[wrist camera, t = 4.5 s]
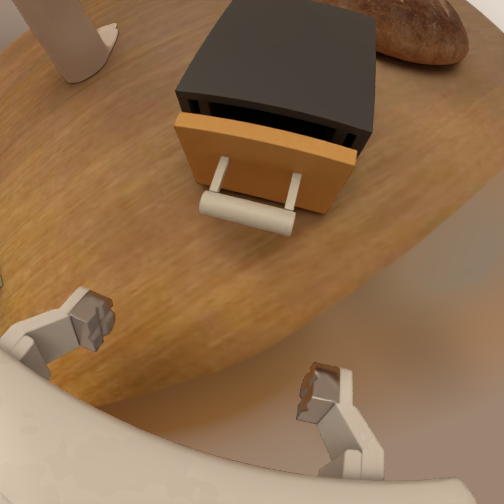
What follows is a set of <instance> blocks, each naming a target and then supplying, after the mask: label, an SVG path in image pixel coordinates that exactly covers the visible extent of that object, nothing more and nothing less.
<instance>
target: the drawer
mask: <svg viewBox="0 0 504 504" xmlns="http://www.w3.org/2000/svg"><path fill="white" fill-rule="evenodd" d="M198 103H199V107H200V111H201V115H200V114H193V113H186V112H180V113H179V115H178V117H177V119H176V122H175V124H174V128H175V130H176V133H177V135H178V138H179V140H180V143H181V145H182V147H183V150H184V152H185V155H186V157H187V160H188V162H189V165H190V167H191V169H192V172H193V174H194V177H195V179H196V181H197V183H200V184H205V185H209V186H210V189H209V191H205V192H204V193H203V195H202V197H201V200H200V204H199V213H200V214H201V215H206V216H210V217H214V218H218V219H222V220H226V221H230V222H234V223H238V224H242V225H246V226H250V227H254V228H258V229H261V230H265V231H269V232H273V233H277V234H281V235H285V236H288V237H289V236H290V235H291V232H292V229H293V225H294V221H295V216H296V213H295V212H293V210H294V206H296V207H300V208H303V209H307V210H311V211H315V212H318V213H322V214H326V212H327V211H328V209H329V207H330V206H331V204H332V203H333V201H334V200H335V198H336V196H337V195H338V193H339V192H340V190H341V188H342V187H343V185H344V184H345V182H346V180H347V179H348V177H349V175H350V174H351V172H352V171H353V169H354V167H355V165H356V158H357V150H354V149H351V148H347V147H344V146H342V145H343V142H344V140H345V138H346V136H347V134H348V132H344V131H341V130H338V129H334V128H331V127H327V126H323V125H320V124H316V123H312V122H308V121H304V120H300V119H296V118H292V117H288V116H283V115H279V114H274V113H270V112H265V111H260V110H255V109H250V108H244V107H239V106H233V105H227V104H220V103H214V102H207V101H199V100H198ZM221 188H222V189H227V190H231V191H235V192H240V193H244V194H248V195H252V196H256V197H260V198H265V199H269V200H273V201H276V202H280V203H284V204H285V207H284V209H281V208H277V207H273V206H269V205H265V204H261V203H257V202H253V201H249V200H245V199H241V198H237V197H232V196H228V195H224V194H220V193H219V192H220V189H221Z"/></svg>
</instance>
